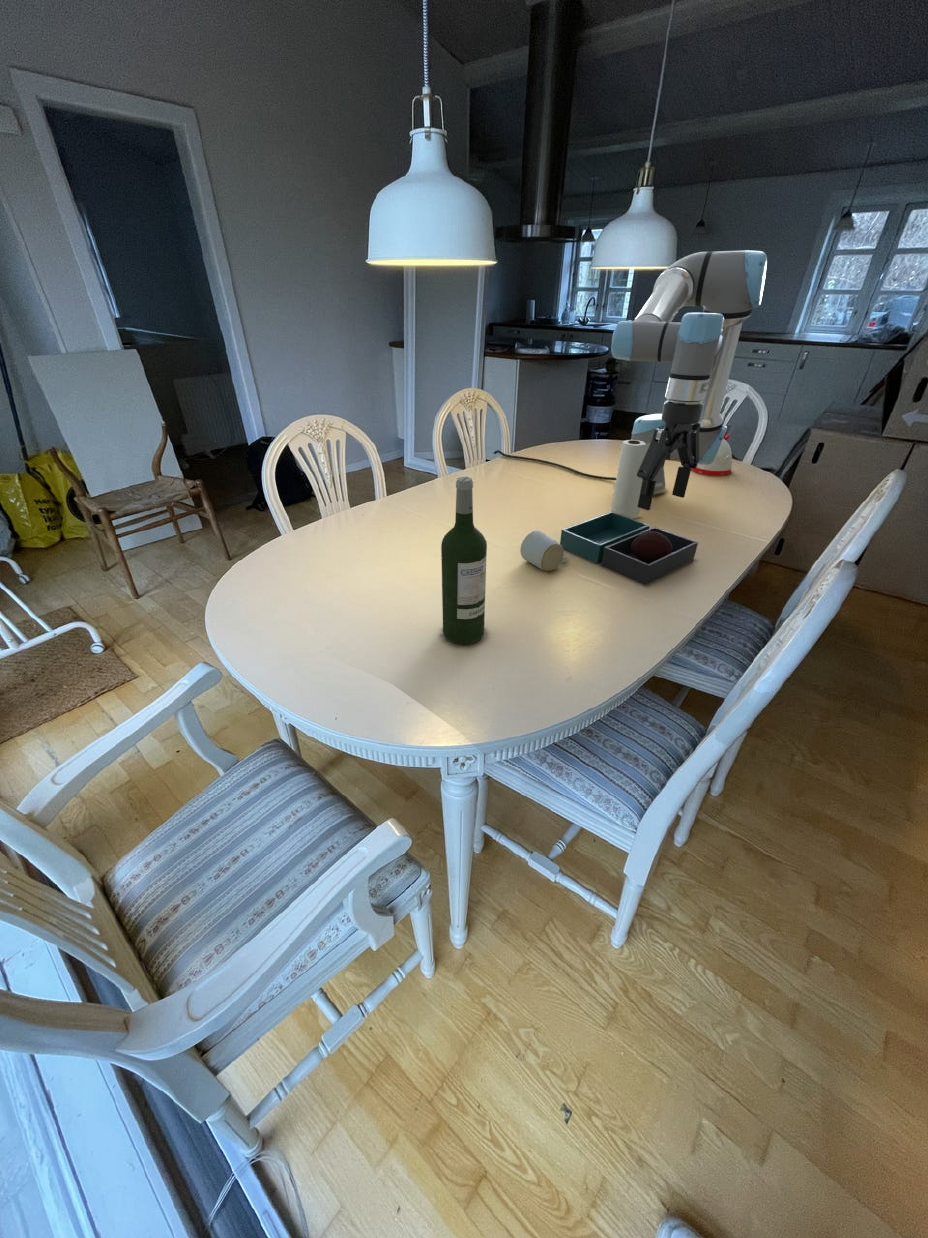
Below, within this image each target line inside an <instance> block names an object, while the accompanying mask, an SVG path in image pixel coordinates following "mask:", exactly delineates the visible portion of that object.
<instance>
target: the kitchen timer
mask: <svg viewBox="0 0 928 1238" xmlns="http://www.w3.org/2000/svg"><path fill="white" fill-rule="evenodd" d="M727 433H728V430H726V432H725V435H724V437H723V440H722V442H721V445H720V447H719V450H718V452H717V454H716V457H715V459H714V461H713V462H712V463H711V464H709V465H702V464H697V467H696V469H693V468H691V472H695V473H696V474H701V475H707V476H713V477H715V476H716V477H717V476H719V477H720V476H727V475H730V474H731V470H732V468H733V454H732V449H731V447H730V444H729V442H728V439H729V437H730V436H731V433H728V434H727Z"/></svg>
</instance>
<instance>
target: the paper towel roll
mask: <svg viewBox="0 0 928 1238" xmlns="http://www.w3.org/2000/svg"><path fill="white" fill-rule="evenodd" d="M650 444H651V443H650ZM650 444H646V443H645V442H643V441H638V440H631V439H625V440H623V441H622V442H621V448H620V453H619V454H620V455H619V459H618V467H617V472H616V477H615V478H616V480H615V484H614V491H613V495H612V496H613V497H612V502H611V508H610V512H614V513H617V514H619V515H622V516H625V517H628V518H631V519H635V518H639V517H640V513H641V509H642V508H639V507H637V506H638V501H639V496H640V490H641V485H642V480H643V479H642V478H640V477H637V472H638V470H639V468H640V466H641V463H642V461H643V459H644V457H645V455H646V452H647V450H648V448H649V446H650Z"/></svg>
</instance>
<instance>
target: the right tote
mask: <svg viewBox="0 0 928 1238" xmlns="http://www.w3.org/2000/svg"><path fill="white" fill-rule="evenodd" d="M648 531H657V532H659V533H661V534H663V535H664V536H666V537H667V538H668V540H669V541H670V543H671V545H672V551H671V553H670V554H669V555H667V556H665V557H663V558H660V559H658V560H656V561H654V562H652V563H647V562H643V561H641V560H639V559H638V558H637V557H636V556H635V555H634V554H633V552H632V550H631V544H632V542H633V541H634V540H635V539H636V538H637V537H638V536H640V535H641V534H643V533H645V532H648ZM698 545H699V542H698V541H696V540H693V539H690V538H687V537H685V536H681V535H680V534H676V533H674V532H671V531H668V530H665V529H661V528H659V527H656V526H652V527H650V528H649V529H648V530H645V531H643V532H640V533H638V534H636V535H633V536H631V537H628V538H626V539H623V540H621V541H619V542H616V543H614V544H611V545H609V546H606V547H604V552H603V558H602V562H601V565H600V566H601V567H602V568H605V569H607V570H610V571H611V572H613V573H616V574H618V575H620V576H622V577H625V578H627V579H630V580H632V581H634V582H636V583H638V584H641V585H643V586H647V585H648V584H650V583H652V582H654V581H656V580H658V579H660V578H662V577H664V576H666V575H668V574H669V573H671V572H674V571H676V570H678V569H679V568H682V567H683V566H685V565H687V564H689V563H692V562H694V559H695V556H696V551H697V549H698Z"/></svg>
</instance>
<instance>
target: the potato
mask: <svg viewBox="0 0 928 1238" xmlns="http://www.w3.org/2000/svg"><path fill="white" fill-rule="evenodd" d="M631 550H632V552H633V554H634V555H635V556H636V557H637V558H638V559H639V560H641V561H643V562H647V563H652V562H654V561H656V560H658V559H660V558H663V557H665V556H667V555H669V554H670V553H671V551H672V545H671V543H670V541H669V540H668V538H667V537H666V536H664V535H663V534H661V533H659V532H657V531H648V532H645V533H643V534H641V535H640V536H638V537H637V538H636V539H635V540H634V541H633V542H632V544H631Z"/></svg>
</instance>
